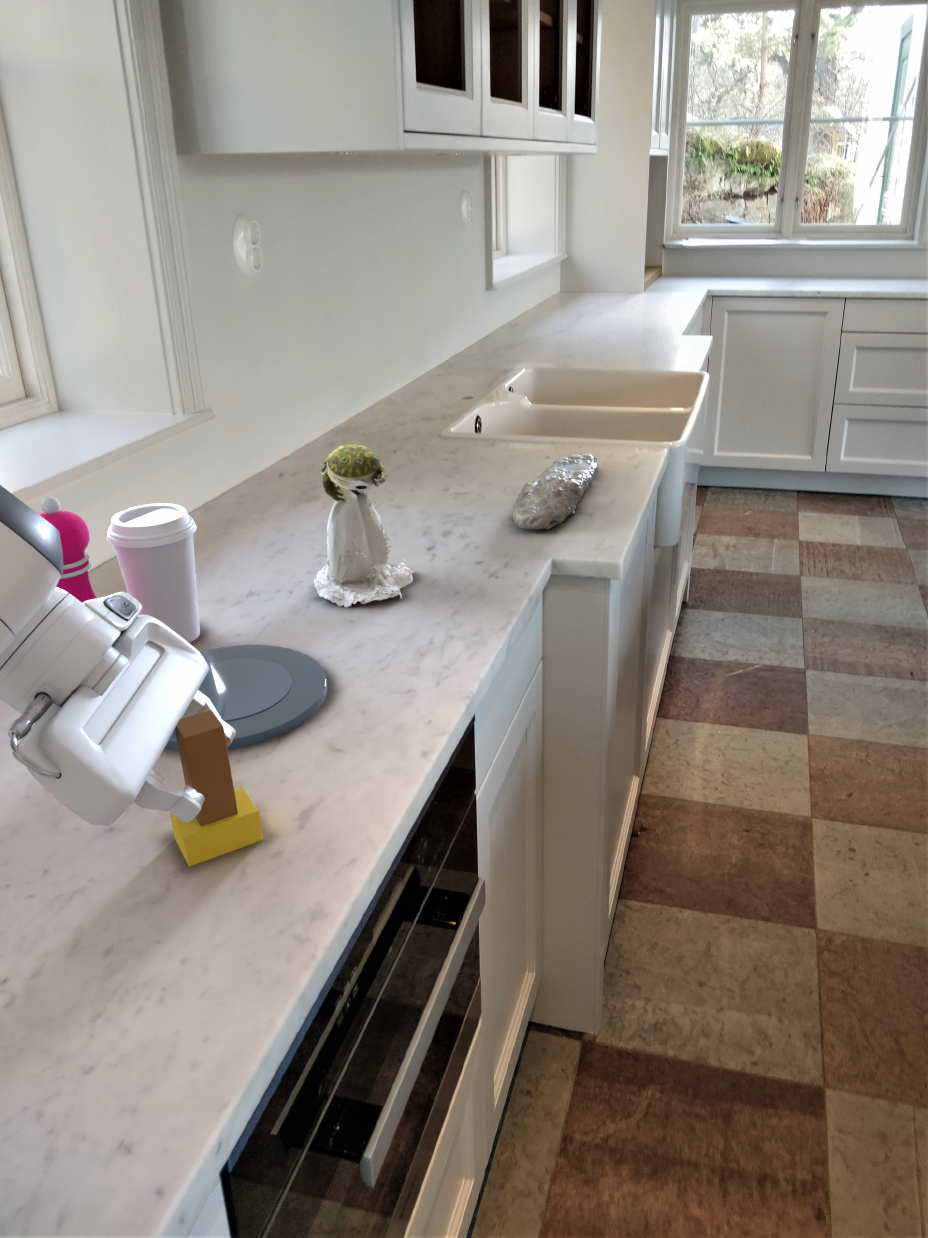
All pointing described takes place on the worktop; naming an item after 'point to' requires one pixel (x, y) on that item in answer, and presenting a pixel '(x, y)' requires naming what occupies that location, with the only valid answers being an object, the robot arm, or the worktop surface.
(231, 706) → the plate
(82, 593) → the pepper mill
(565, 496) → the elongated rock
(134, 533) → the coffee cup
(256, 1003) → the worktop surface
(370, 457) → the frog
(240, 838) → the sponge brush
